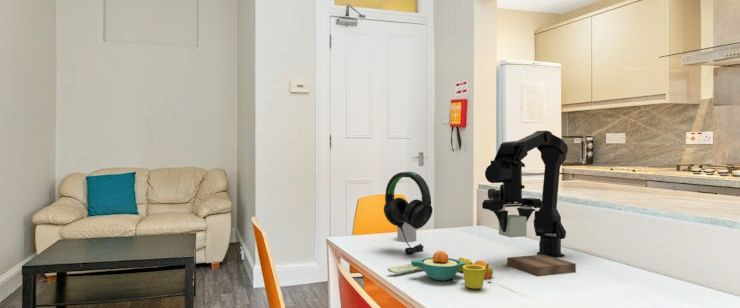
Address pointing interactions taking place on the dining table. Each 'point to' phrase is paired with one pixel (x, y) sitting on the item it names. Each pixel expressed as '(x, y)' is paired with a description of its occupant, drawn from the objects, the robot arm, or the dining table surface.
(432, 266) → the toy juicer set
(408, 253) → the headset
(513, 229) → the sage block
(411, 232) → the grey block
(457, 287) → the dining table surface
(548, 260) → the walnut plinth
